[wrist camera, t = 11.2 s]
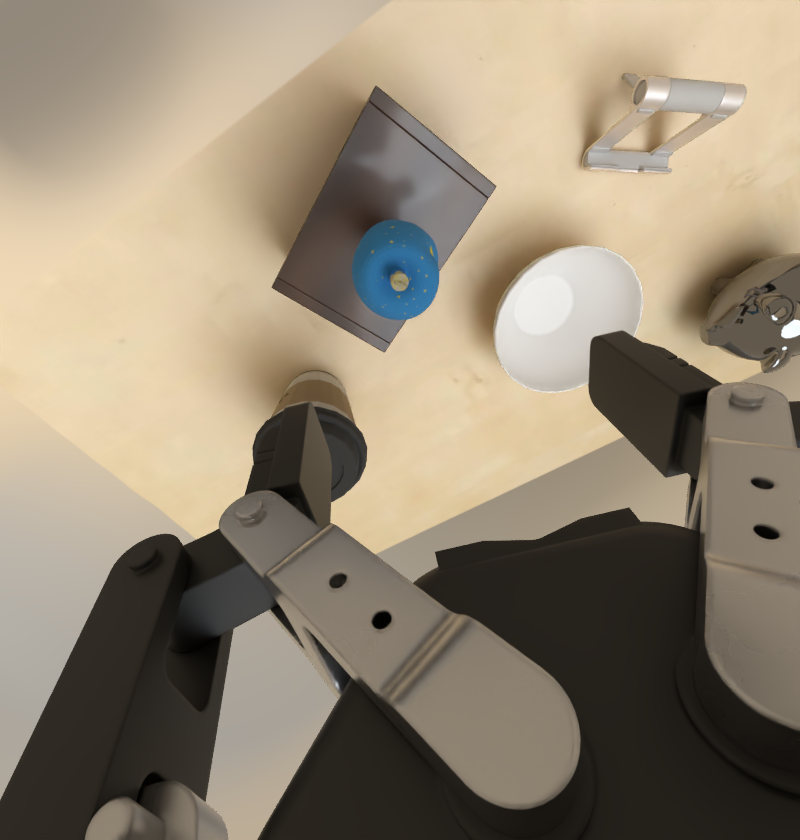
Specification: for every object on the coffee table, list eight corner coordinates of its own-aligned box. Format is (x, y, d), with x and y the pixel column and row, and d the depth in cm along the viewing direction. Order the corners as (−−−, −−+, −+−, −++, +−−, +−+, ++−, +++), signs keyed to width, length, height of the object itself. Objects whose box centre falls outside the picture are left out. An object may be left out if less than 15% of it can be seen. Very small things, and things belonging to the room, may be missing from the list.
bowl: (633, 251, 50) (673, 265, 44) (573, 376, 58) (600, 402, 52) (504, 217, 46) (528, 227, 40) (459, 355, 54) (474, 381, 48)
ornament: (404, 277, 36) (437, 346, 24) (342, 262, 35) (343, 326, 23) (421, 211, 34) (469, 248, 21) (356, 192, 33) (366, 220, 20)
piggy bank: (669, 281, 52) (744, 312, 42) (798, 221, 50) (908, 239, 40) (678, 358, 58) (746, 400, 48) (794, 307, 56) (889, 340, 46)
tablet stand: (579, 169, 45) (624, 173, 38) (601, 71, 41) (657, 55, 33) (657, 173, 46) (715, 178, 39) (686, 78, 42) (757, 64, 35)
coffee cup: (273, 346, 51) (251, 412, 38) (370, 362, 53) (379, 429, 40) (266, 428, 56) (244, 509, 44) (354, 439, 59) (357, 519, 46)
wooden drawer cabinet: (286, 257, 46) (271, 287, 36) (366, 101, 40) (375, 85, 30) (375, 311, 50) (384, 352, 40) (460, 177, 44) (496, 186, 34)
